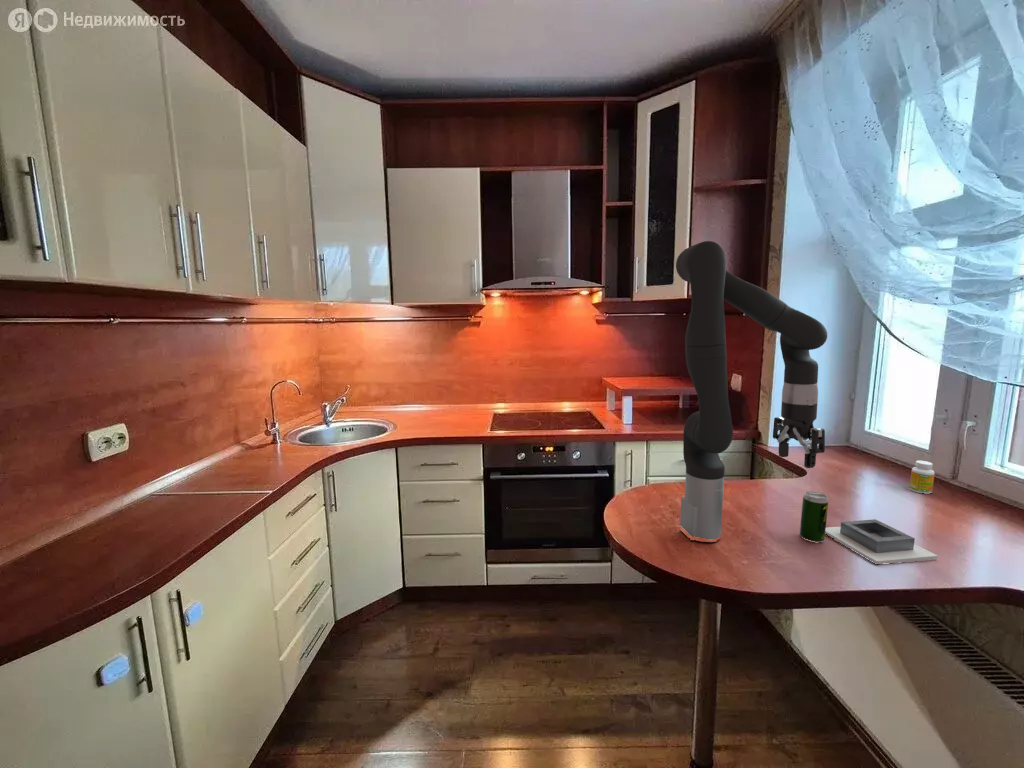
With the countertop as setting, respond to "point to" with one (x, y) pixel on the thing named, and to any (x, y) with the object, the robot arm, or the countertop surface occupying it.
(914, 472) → the supplement bottle
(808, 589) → the countertop surface
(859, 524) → the can collar
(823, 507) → the beer can
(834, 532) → the holder plate
